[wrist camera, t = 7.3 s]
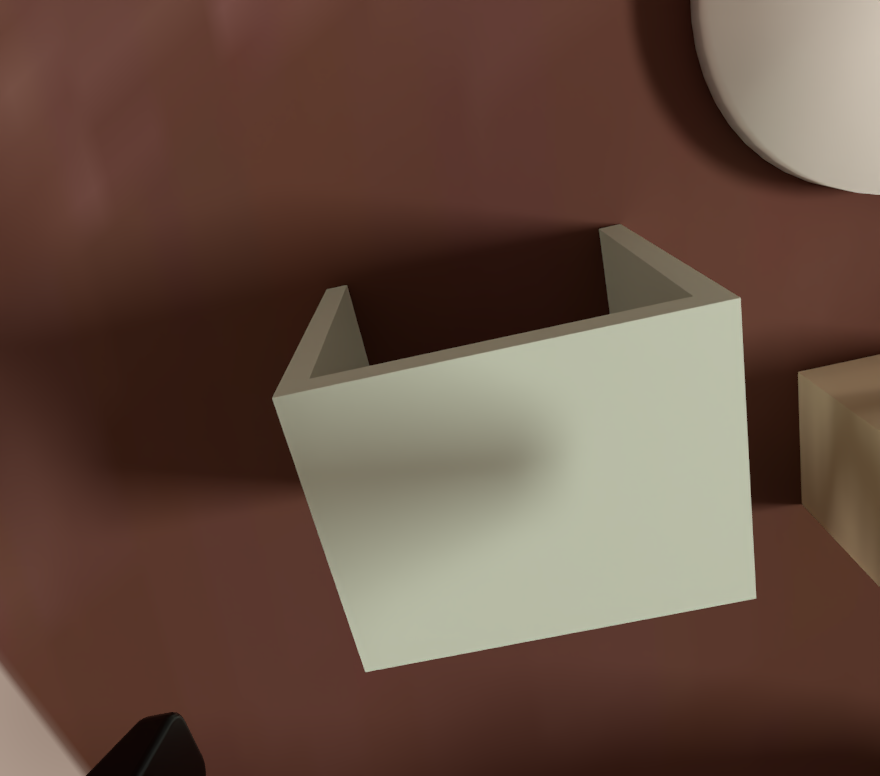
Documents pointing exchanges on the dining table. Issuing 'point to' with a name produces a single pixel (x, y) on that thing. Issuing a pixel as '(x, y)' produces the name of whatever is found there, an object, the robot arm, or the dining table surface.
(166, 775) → the robot arm
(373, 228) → the dining table surface
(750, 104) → the saucer
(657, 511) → the cover
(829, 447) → the block
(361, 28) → the dining table surface
